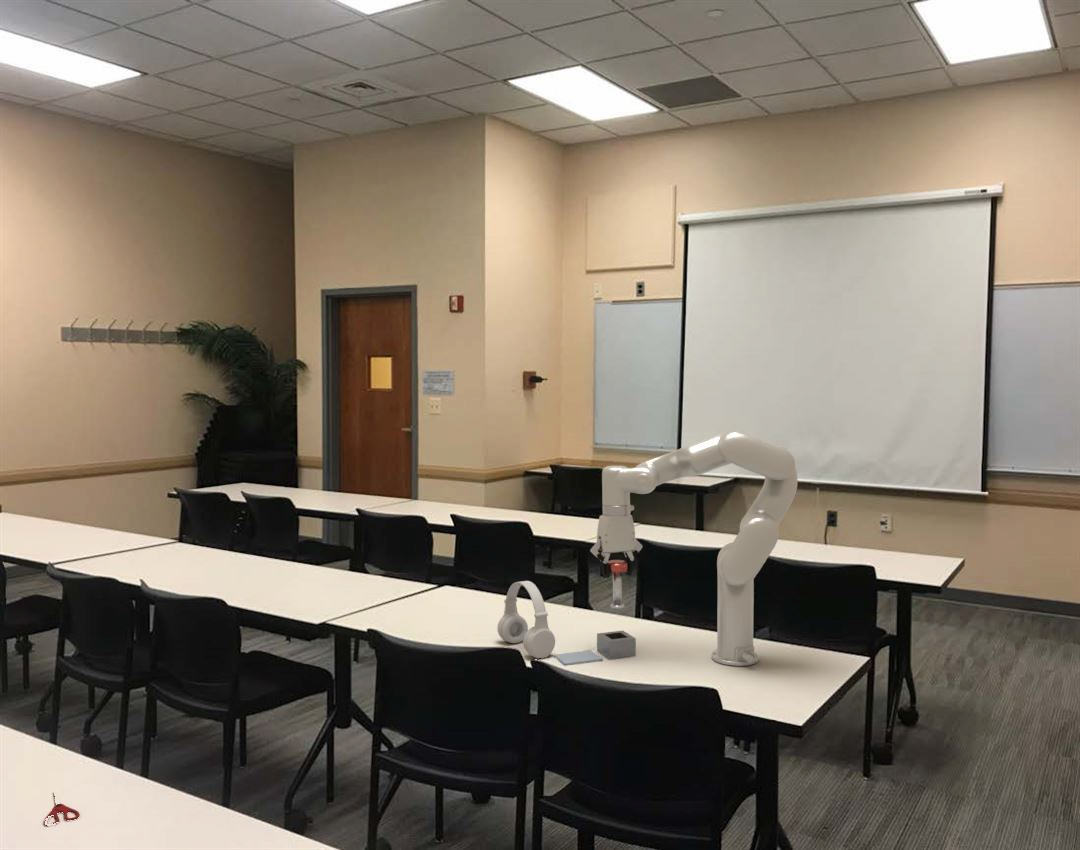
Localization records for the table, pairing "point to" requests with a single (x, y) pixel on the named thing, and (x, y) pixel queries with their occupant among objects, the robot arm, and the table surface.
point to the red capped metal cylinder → (617, 581)
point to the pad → (578, 657)
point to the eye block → (616, 645)
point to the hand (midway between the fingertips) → (617, 575)
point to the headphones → (516, 628)
